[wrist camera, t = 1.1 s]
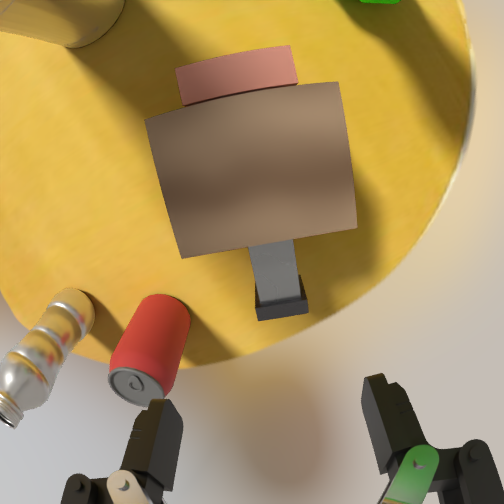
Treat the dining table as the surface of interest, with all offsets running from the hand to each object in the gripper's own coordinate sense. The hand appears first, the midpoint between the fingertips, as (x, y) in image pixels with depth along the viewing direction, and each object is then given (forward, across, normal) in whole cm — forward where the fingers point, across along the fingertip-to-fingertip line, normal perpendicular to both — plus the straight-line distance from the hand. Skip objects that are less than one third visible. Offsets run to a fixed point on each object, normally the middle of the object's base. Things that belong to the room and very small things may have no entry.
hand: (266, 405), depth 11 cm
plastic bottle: (+20, +25, +6) cm, 33 cm away
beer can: (+20, +13, +9) cm, 26 cm away
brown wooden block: (+20, -1, -8) cm, 22 cm away
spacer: (+16, -1, -13) cm, 21 cm away
